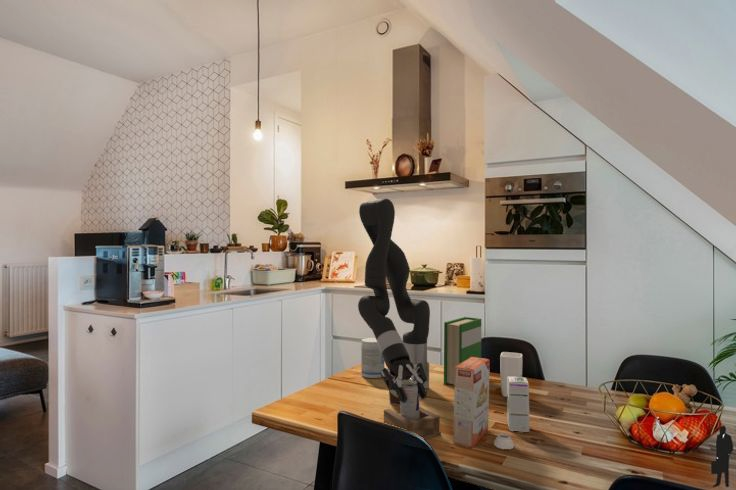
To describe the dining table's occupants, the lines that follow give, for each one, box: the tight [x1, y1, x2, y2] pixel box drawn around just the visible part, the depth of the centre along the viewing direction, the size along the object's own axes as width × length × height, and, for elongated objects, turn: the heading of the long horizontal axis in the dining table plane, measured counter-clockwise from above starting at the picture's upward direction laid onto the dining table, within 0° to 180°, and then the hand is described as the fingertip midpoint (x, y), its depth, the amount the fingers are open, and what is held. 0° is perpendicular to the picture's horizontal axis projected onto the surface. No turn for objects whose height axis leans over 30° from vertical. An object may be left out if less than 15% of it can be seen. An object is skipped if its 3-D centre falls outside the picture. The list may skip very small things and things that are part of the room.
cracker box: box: [452, 357, 491, 448], centre depth 124 cm, size 14×6×21 cm, turn 148°
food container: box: [388, 374, 417, 406], centre depth 151 cm, size 12×6×10 cm, turn 65°
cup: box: [499, 351, 523, 398], centre depth 159 cm, size 7×7×15 cm
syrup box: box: [506, 376, 530, 433], centre depth 131 cm, size 6×6×14 cm
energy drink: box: [399, 383, 420, 420], centre depth 128 cm, size 5×5×12 cm
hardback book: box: [443, 316, 482, 386], centre depth 176 cm, size 18×7×24 cm, turn 142°
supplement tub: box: [360, 337, 385, 379], centre depth 183 cm, size 10×10×15 cm
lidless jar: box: [493, 432, 515, 450], centre depth 119 cm, size 5×3×5 cm
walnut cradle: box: [383, 405, 442, 440], centre depth 128 cm, size 12×12×5 cm
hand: (414, 399), depth 126 cm, fingers open, 6 cm apart
